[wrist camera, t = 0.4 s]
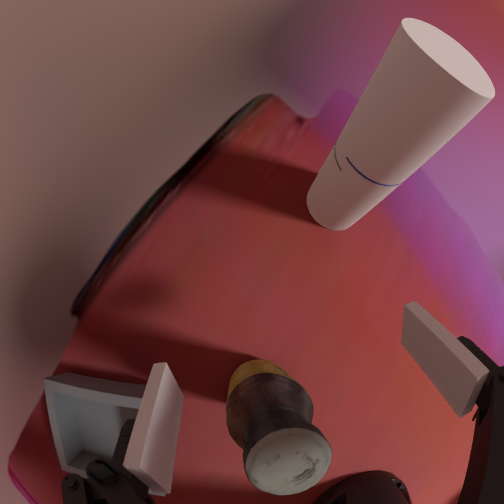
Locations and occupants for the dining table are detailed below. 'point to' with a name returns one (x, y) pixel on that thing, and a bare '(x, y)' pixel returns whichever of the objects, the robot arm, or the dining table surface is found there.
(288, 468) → the sauce bottle
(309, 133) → the dining table surface
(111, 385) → the grey open box
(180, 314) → the dining table surface
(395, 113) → the cylindrical container
